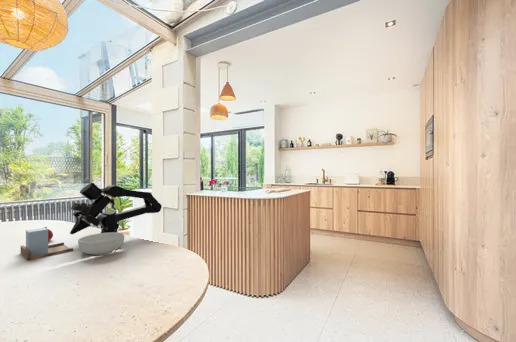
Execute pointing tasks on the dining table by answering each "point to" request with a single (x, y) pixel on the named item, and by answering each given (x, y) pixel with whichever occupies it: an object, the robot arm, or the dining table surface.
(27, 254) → the box
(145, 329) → the dining table surface
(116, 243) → the cereal bowl
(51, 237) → the onion
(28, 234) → the blue block
